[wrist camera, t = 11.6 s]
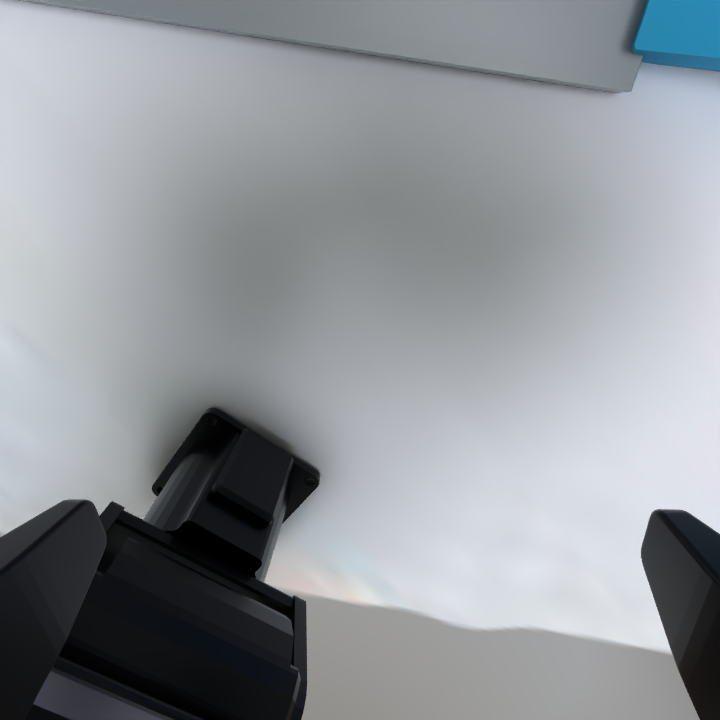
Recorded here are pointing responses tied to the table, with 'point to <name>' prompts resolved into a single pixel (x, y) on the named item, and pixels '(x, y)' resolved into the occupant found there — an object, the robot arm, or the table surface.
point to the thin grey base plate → (430, 31)
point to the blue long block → (680, 33)
